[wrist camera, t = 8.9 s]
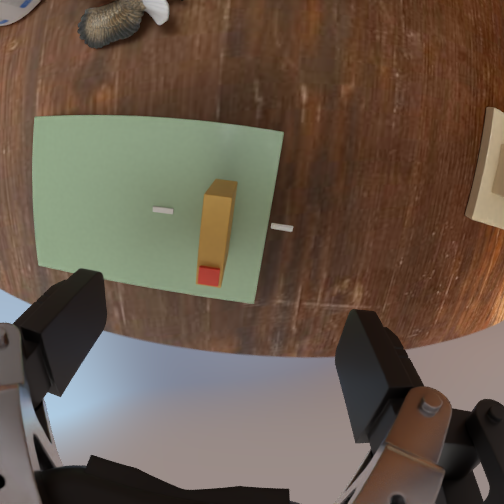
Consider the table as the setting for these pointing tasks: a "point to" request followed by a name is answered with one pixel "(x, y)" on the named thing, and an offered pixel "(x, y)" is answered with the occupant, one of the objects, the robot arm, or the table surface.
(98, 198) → the lock plate
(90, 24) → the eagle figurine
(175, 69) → the table surface
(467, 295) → the table surface
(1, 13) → the supplement tub
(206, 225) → the thumbturn
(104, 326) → the robot arm
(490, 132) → the handle bracket
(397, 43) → the table surface
